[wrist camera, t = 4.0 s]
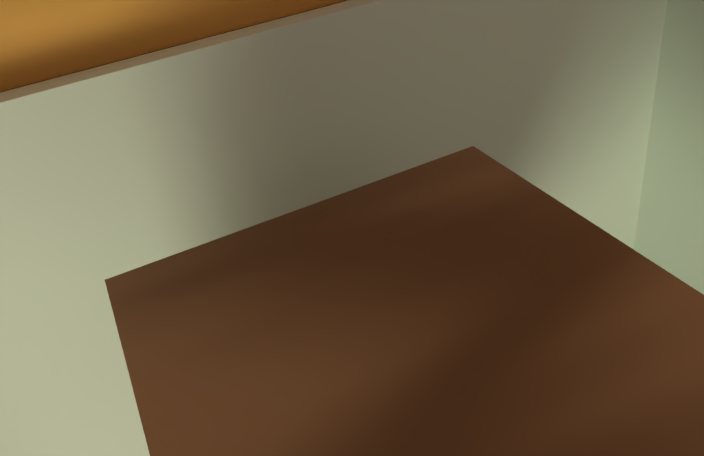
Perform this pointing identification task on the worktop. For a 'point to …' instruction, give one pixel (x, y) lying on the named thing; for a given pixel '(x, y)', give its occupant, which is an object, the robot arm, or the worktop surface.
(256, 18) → the worktop surface
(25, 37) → the worktop surface
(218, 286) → the walnut block
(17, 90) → the crate
